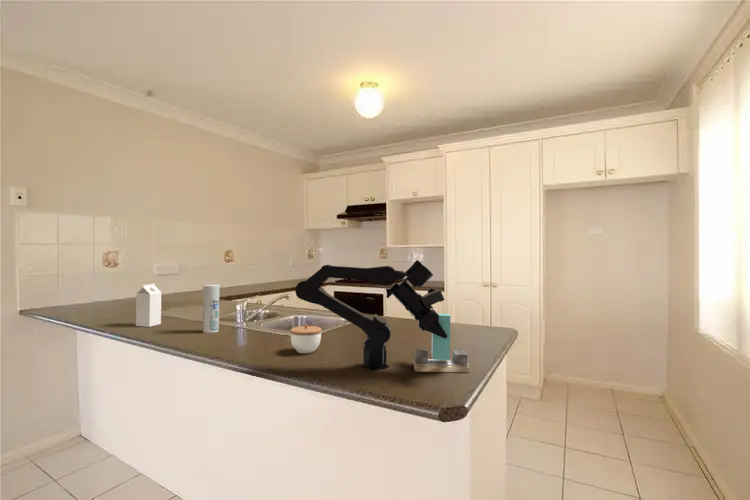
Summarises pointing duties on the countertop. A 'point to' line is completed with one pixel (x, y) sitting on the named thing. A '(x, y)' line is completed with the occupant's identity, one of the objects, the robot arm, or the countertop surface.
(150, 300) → the milk carton
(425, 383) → the countertop surface
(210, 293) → the spray can
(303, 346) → the lidded jar
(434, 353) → the block
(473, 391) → the countertop surface
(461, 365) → the board
